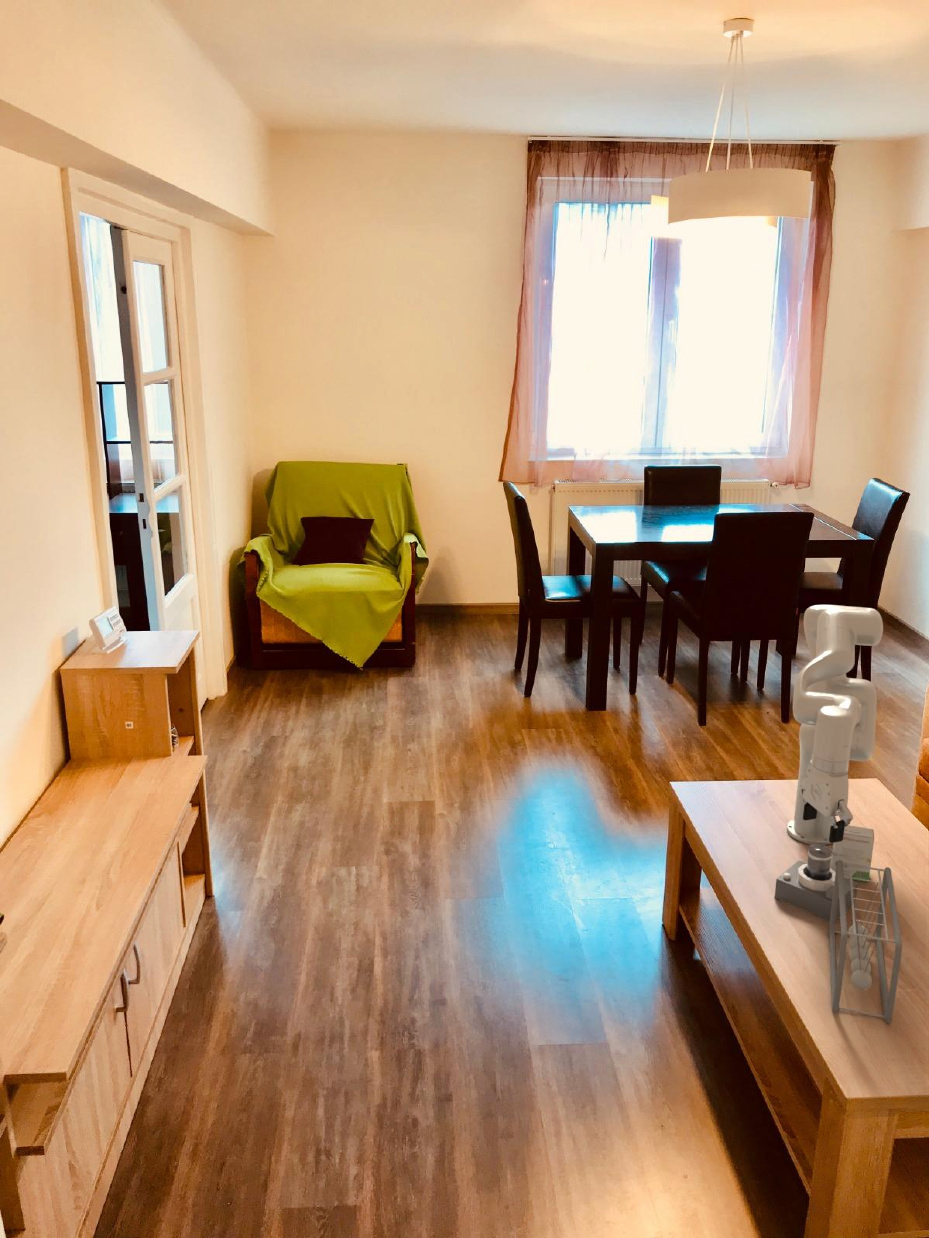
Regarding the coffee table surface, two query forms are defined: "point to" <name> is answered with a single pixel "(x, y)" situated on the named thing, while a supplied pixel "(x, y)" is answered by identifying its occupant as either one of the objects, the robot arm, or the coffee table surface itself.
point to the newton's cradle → (863, 942)
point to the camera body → (810, 891)
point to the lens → (819, 862)
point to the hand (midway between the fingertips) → (822, 829)
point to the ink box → (854, 852)
